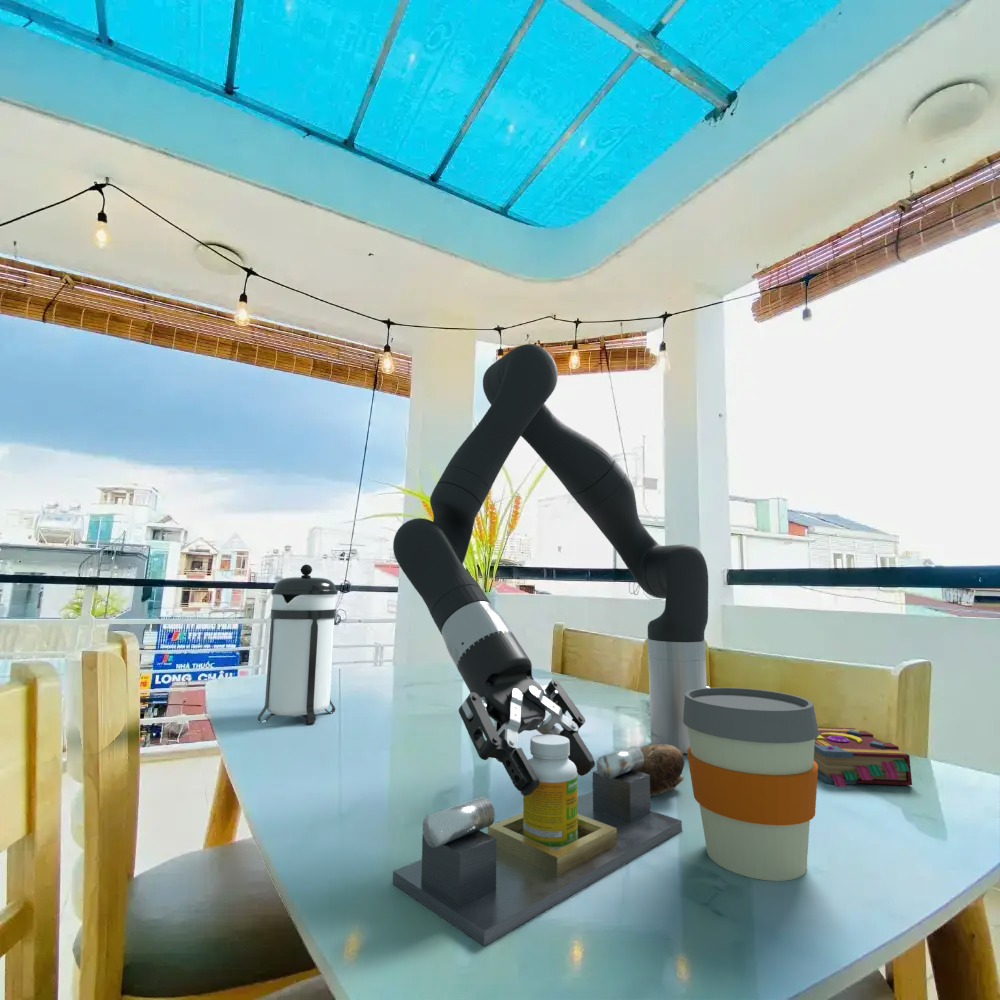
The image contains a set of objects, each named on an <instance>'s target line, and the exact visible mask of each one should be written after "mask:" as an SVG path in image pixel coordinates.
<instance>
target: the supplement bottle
mask: <svg viewBox="0 0 1000 1000" xmlns="http://www.w3.org/2000/svg"><path fill="white" fill-rule="evenodd" d="M529 743H530V745H529V746H530V747H529V752H530V754H531V755H532V757H531V758H529V759H528V761H529V763H530V765H531V766H532V768H533V770H534V772H535V773H536V775H537V777H538V779H539V786H538V787H537V788H536V789H535V790H534V791H533V793H532V794H530V795H527V796H523V795H522V796H523V798H522V799H523V804H522V805H523V807H522V809H523V811H522V812H523V836H525V837H528V838H530V839H532V840H534V841H536V842H539V843H541V844H543V845H545V846H548V847H550V848H552V849H554V850H557V849H560V848H562V847H564V846H566V845H568V844H570V843H572V842H574V841H576V840H578V813H577V803H578V802H577V797H578V773H577V768H576V766H575V764H574V763H573V762H572V761H571V760H569V758H568V756H569V755H570V741H569V739H568V738H566V737H563V736H559V735H552V734H544V735H543V734H537V735H533V736H531V737H530V740H529Z"/></svg>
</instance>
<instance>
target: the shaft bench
mask: <svg viewBox="0 0 1000 1000" xmlns="http://www.w3.org/2000/svg"><path fill="white" fill-rule="evenodd" d="M640 749H641V748H640V747H638V746H636V745H632V746H628V747H625V748H623V749H620V750H617V751H613V752H610V753H608V754H605V755H602V756H599V757H598V758H597V759H596V762H595V767H596V770H594V771H592V791H590V792H588V793H584V794H582V795H580V796H577V802H578V803H577V813H578V840H576V841H574V842H572V843H570V844H568V845H566V846H564V847H562V848H560V849H557V850H554V849H552V848H550V847H548V846H545V845H543V844H541V843H539V842H536V841H534V840H532V839H530V838H528V837H525V836H523V811H522V812H520V813H517V814H515V815H513V816H510V817H508V818H505V819H501V820H499V821H497V822H494V821H495V817H496V814H495V812H496V811H495V808H494V805H493V803H492V801H491V800H490V799H489V798H488V797H487V796H481V797H478V798H474V799H471V800H469V801H465V802H462V803H459V804H457V805H454V806H451V807H448V808H444V809H442V810H441V809H440V810H439V811H435V812H433V813H430V814H427V815H426V816H425V817H424V818H423V820H422V821H423V822H422V840H421V841H422V843H421V844H422V850H421V859H420V860H417V861H415V862H413V863H410V864H408V865H405V866H402V867H400V868H397V869H395V870H392V884H393V885H394V886H396V887H397V888H398V889H400V890H401V891H403V892H405V893H406V894H407V895H409V896H410V897H412V898H413V899H415V900H416V901H418V902H419V903H421V904H422V905H423V906H425V907H426V908H428V909H429V910H430V911H432V912H434V913H435V914H437V915H438V916H440V917H441V918H443V919H444V920H445V921H446V922H448V923H450V924H451V925H453V926H455V927H456V928H457V929H459V930H460V931H462V932H463V933H464V934H466V935H467V936H469V937H470V938H471V939H473V940H474V941H476V942H477V943H479V944H480V945H482V946H484V947H485V946H487V945H489V944H490V943H492V942H494V941H496V940H498V939H499V938H501V937H503V936H505V935H506V934H508V933H509V932H512V931H513V930H514V929H516V928H518V927H520V926H522V925H523V924H525V923H526V922H528V921H530V920H532V919H534V918H535V917H537V916H538V915H540V914H542V913H543V912H546V911H547V910H549V909H550V908H552V907H554V906H556V905H557V904H559V903H561V902H563V901H564V900H566V899H567V898H569V897H571V896H573V895H574V894H576V893H578V892H580V891H582V890H583V889H585V888H587V887H588V886H590V885H591V884H593V883H595V882H596V881H598V880H600V879H603V878H604V877H605V876H607V875H609V874H610V873H612V872H613V871H616V870H617V869H619V868H620V867H622V866H625V865H626V864H627V863H629V862H631V861H633V860H635V859H636V858H638V857H639V856H641V855H643V854H645V853H646V852H649V851H650V850H652V849H653V848H655V847H656V846H658V845H660V844H662V843H664V842H666V841H667V840H668V839H671V838H672V837H674V836H675V835H677V834H679V833H680V832H682V831H683V822H682V820H681V819H678V818H675V817H672V816H668V815H665V814H662V813H659V812H657V811H653V810H652V808H651V807H652V806H651V796H650V775H649V774H645V773H642V772H638V771H634V770H635V769H637V768H640V767H641V766H642V765H643V763H644V756H643V753H642V751H641V750H640ZM486 828H487V832H484V831H481V830H483V829H486Z"/></svg>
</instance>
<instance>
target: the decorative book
mask: <svg viewBox="0 0 1000 1000" xmlns="http://www.w3.org/2000/svg"><path fill="white" fill-rule="evenodd" d="M818 732H819V736H818V737H817V738H816V739H815V745H814V761H815V762H816V763H817V764H818V777H817V778H818V779H820V780H821V781H823V782H824V783H825V784H829V785H830V784H831V785H832V784H834V785H835V787H843V788H844V787H846V788H847V785H856V784H868V785H869V784H870V785H871V784H872V785H875V784H876V785H892V786H893V785H897V786H898V785H900V786H913V777H912V770H911V768H912V767H911V759H910V754H907V753H905V752H904V751H902V750H900V749H899V746H898V745H895V744H893V743H891V742H883V741H882V740H880V739H878V738H876V737H874V734H872V733H870V732H868V731H867V730H859V729H856V728H854V727H853V728H852V727H826V726H824V727H823V726H820V727H819V726H818Z"/></svg>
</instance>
